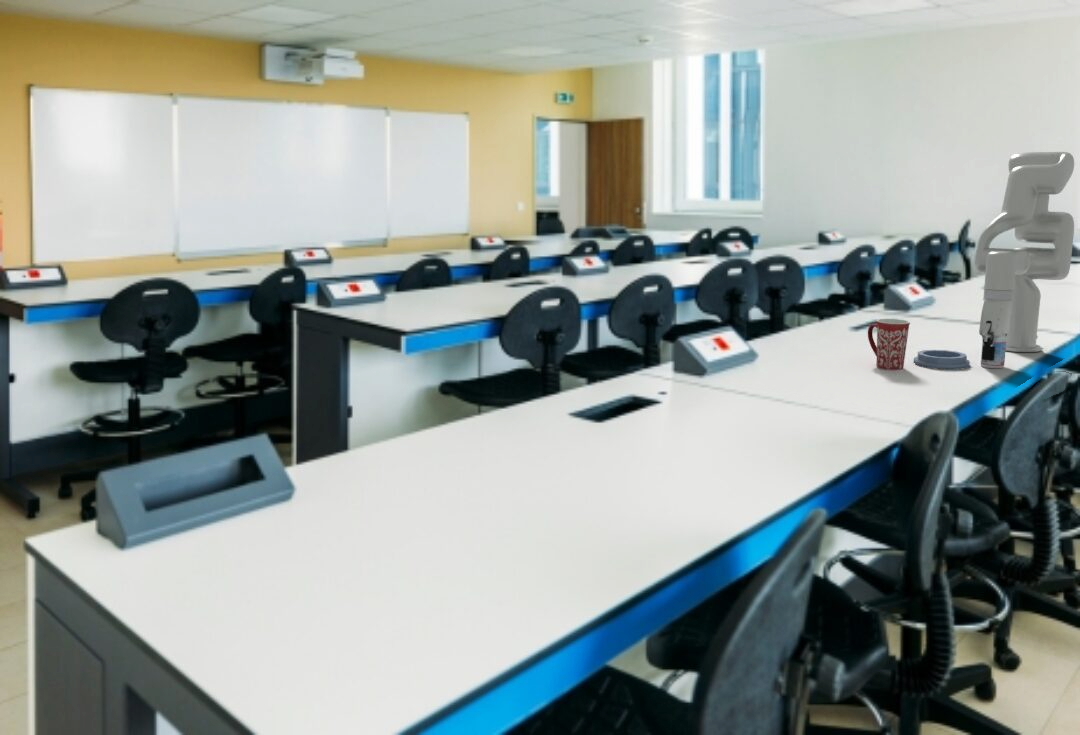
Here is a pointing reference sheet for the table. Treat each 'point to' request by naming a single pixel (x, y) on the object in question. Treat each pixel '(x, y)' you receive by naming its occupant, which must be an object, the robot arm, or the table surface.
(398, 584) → the table surface
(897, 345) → the mug
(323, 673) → the table surface
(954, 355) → the round tray
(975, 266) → the robot arm
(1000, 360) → the pill bottle
